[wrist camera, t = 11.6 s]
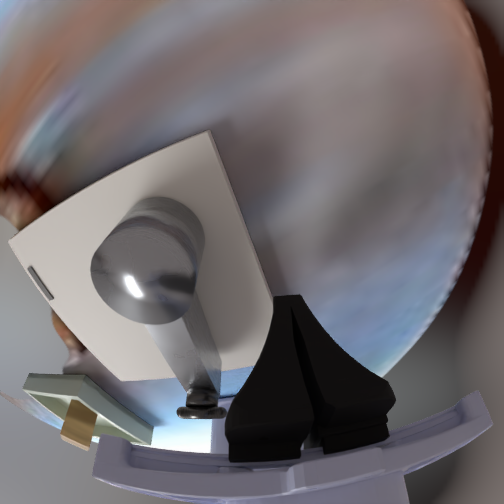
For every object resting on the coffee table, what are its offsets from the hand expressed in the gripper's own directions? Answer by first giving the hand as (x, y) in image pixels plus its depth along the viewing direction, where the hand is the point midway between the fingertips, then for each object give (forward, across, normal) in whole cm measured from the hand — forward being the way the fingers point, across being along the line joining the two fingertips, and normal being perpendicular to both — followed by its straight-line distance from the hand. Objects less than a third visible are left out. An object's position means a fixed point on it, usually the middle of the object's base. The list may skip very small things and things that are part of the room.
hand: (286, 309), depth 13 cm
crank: (+2, +6, +1) cm, 6 cm away
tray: (+3, +25, +21) cm, 33 cm away
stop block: (+2, +25, +21) cm, 33 cm away
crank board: (+3, +9, +1) cm, 9 cm away
